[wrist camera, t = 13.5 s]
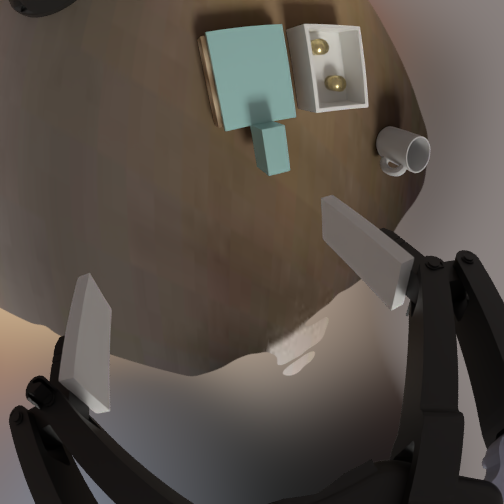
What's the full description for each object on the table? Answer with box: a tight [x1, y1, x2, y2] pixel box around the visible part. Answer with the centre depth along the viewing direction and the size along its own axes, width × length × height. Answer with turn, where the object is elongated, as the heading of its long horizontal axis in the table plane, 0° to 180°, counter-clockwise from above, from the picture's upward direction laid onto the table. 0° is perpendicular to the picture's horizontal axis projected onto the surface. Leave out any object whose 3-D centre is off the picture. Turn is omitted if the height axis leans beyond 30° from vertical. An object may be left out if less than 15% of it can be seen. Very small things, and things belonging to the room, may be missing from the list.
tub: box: [286, 24, 368, 113], centre depth 38 cm, size 14×10×6 cm
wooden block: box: [197, 36, 224, 128], centre depth 37 cm, size 14×12×3 cm
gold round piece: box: [324, 75, 346, 92], centre depth 41 cm, size 3×3×2 cm
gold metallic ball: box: [310, 39, 329, 55], centre depth 36 cm, size 3×3×2 cm
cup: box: [376, 126, 430, 176], centre depth 49 cm, size 7×10×9 cm
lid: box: [205, 24, 296, 176], centre depth 35 cm, size 21×11×6 cm, turn 11°
